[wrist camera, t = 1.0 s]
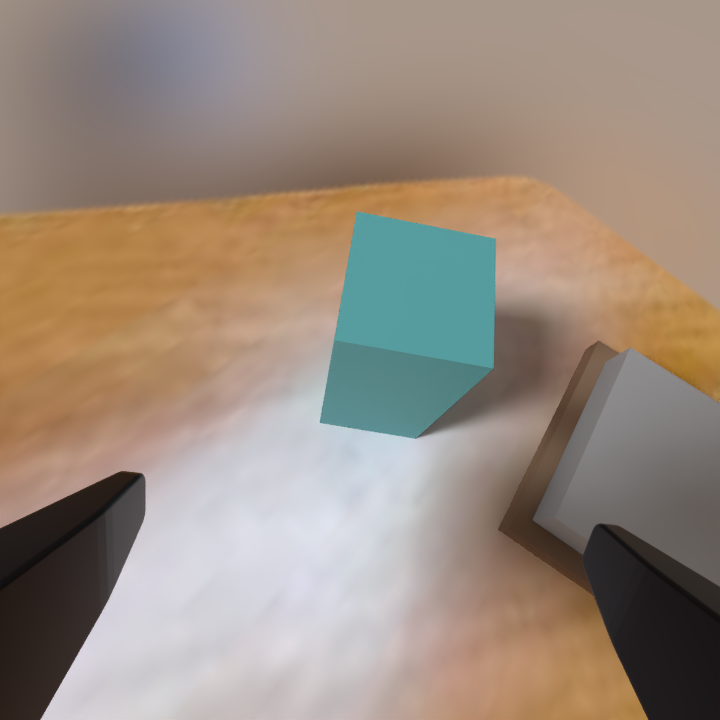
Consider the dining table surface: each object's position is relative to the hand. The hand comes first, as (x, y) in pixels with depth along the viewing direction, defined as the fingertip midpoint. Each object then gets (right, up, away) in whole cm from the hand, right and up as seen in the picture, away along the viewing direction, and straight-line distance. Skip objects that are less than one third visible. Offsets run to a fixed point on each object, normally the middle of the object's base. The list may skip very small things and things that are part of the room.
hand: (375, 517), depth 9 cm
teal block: (0, +2, +15) cm, 15 cm away
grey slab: (+15, -3, +14) cm, 20 cm away
